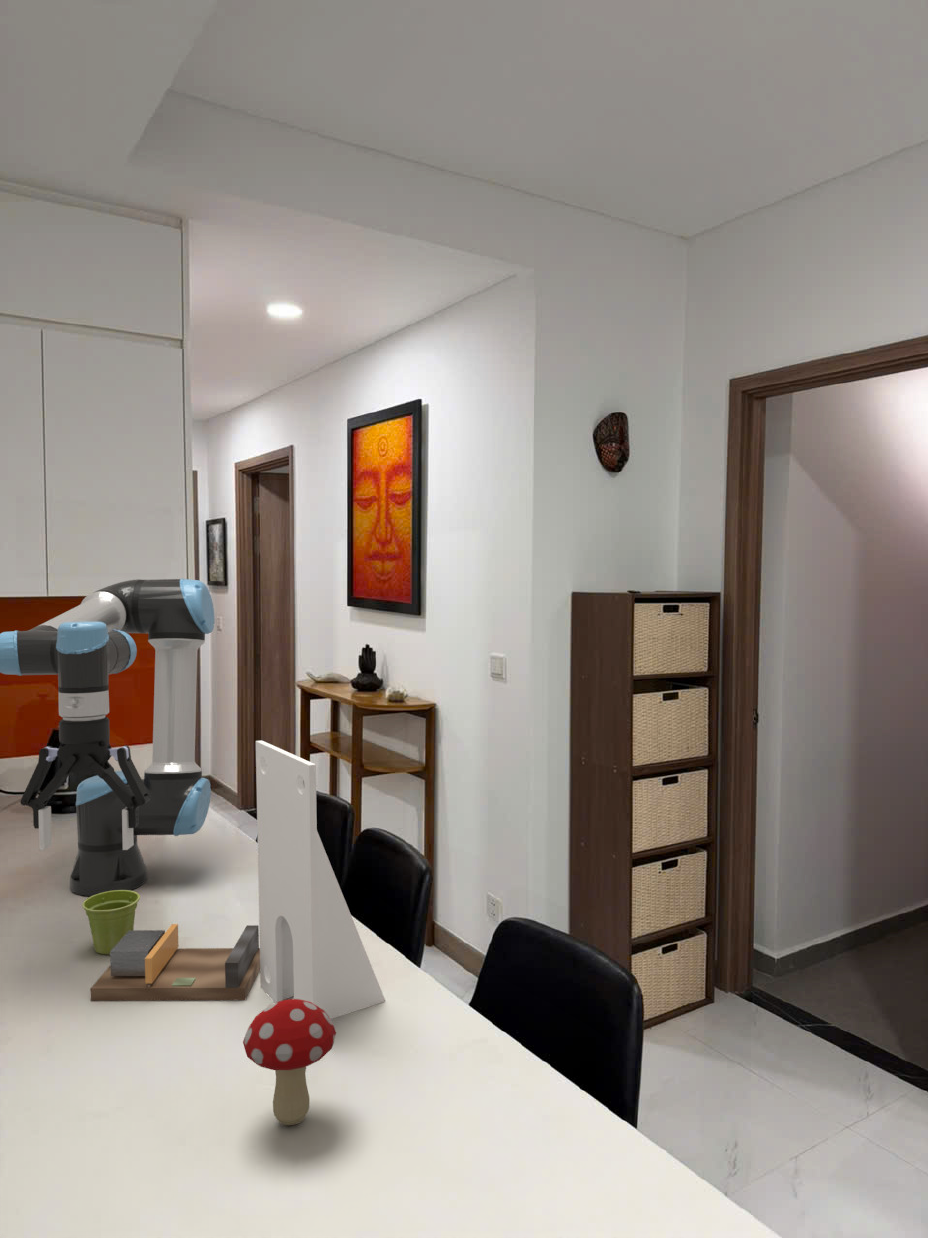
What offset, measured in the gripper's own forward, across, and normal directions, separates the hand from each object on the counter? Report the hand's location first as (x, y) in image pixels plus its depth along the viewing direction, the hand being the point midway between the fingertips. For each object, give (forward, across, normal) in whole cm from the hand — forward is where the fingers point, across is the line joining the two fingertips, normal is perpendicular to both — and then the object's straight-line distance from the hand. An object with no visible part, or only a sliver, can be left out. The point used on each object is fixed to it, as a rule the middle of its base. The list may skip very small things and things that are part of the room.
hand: (86, 848), depth 144 cm
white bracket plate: (+22, +40, -7) cm, 46 cm away
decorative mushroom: (+23, +40, -37) cm, 59 cm away
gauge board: (+22, +15, 0) cm, 27 cm away
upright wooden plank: (+19, +12, 0) cm, 23 cm away
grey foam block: (+19, +8, 0) cm, 21 cm away
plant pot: (+22, -1, +12) cm, 25 cm away
